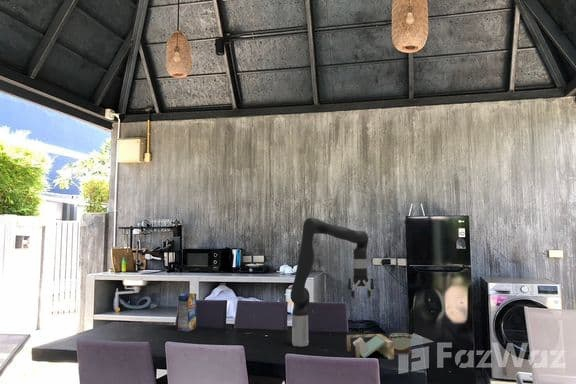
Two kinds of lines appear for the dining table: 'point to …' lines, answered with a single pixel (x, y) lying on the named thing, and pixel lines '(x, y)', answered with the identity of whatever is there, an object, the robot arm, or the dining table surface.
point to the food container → (401, 342)
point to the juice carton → (187, 312)
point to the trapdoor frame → (385, 349)
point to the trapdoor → (373, 346)
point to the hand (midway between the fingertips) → (360, 297)
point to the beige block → (361, 345)
